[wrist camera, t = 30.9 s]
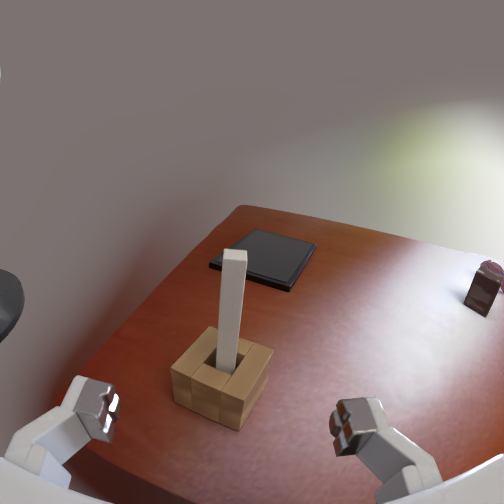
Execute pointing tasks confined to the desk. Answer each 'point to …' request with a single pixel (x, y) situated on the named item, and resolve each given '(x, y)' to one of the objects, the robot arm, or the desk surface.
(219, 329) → the white square bar
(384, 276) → the desk surface
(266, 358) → the pen stand
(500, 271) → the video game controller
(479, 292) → the box
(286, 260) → the plate
